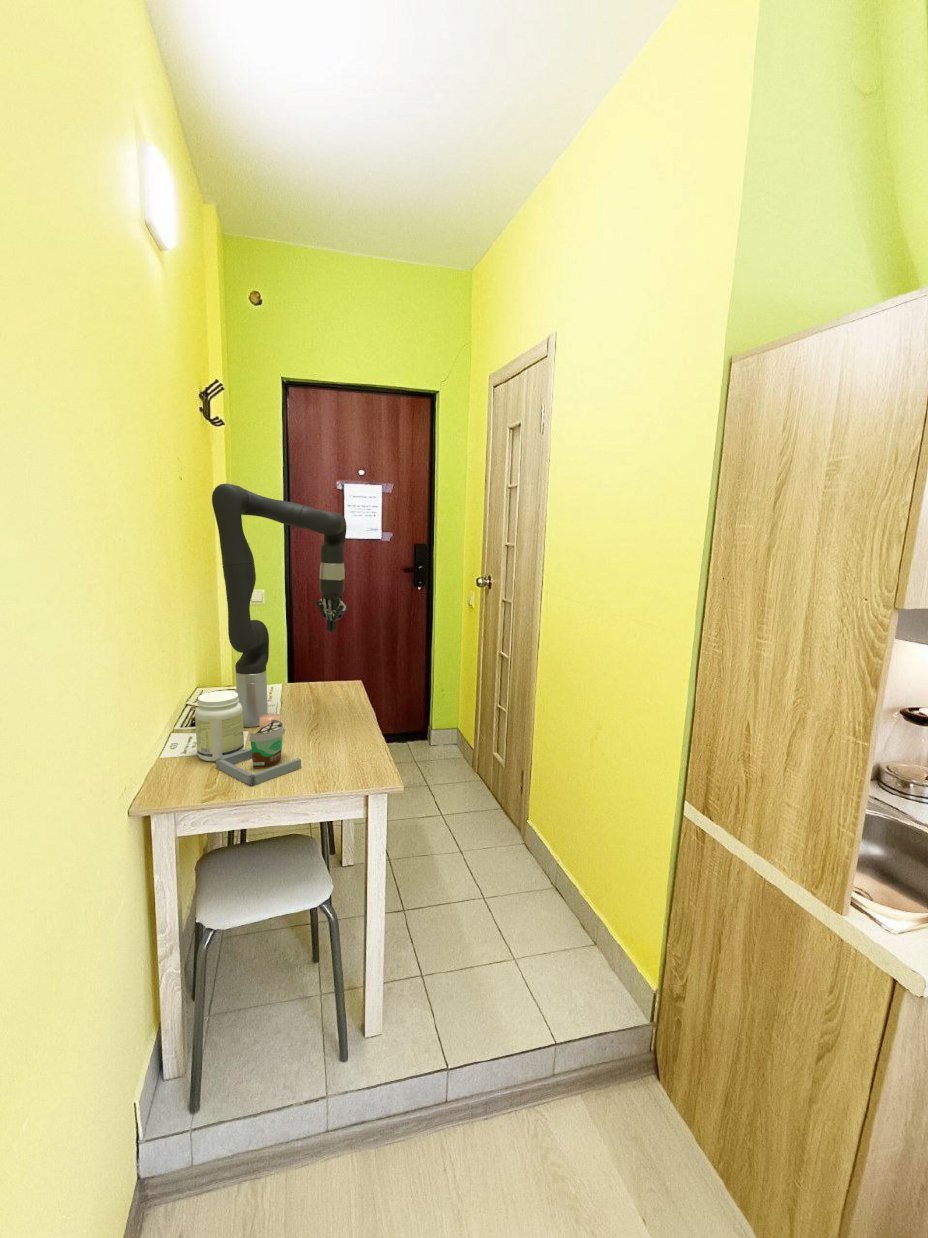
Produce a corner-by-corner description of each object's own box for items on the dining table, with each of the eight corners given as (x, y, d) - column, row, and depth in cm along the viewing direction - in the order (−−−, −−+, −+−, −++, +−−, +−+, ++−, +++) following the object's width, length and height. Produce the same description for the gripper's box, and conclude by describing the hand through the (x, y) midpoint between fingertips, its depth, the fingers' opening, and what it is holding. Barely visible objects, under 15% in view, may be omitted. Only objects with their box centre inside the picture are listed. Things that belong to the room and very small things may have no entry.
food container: (271, 772, 153) (270, 736, 151) (250, 770, 154) (248, 733, 152) (293, 754, 165) (292, 720, 163) (273, 752, 166) (272, 718, 164)
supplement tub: (244, 744, 171) (242, 688, 168) (243, 760, 160) (241, 700, 157) (199, 748, 167) (196, 691, 164) (194, 765, 156) (191, 704, 153)
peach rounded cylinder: (256, 743, 172) (255, 717, 171) (273, 737, 177) (273, 712, 175) (268, 748, 168) (267, 721, 167) (285, 742, 173) (285, 716, 172)
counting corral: (216, 768, 154) (216, 759, 154) (265, 751, 166) (265, 743, 165) (251, 786, 144) (251, 777, 144) (301, 767, 156) (300, 759, 155)
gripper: (308, 575, 182) (308, 630, 185) (336, 580, 174) (336, 637, 177) (327, 574, 188) (327, 627, 191) (355, 578, 180) (354, 633, 183)
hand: (331, 632), depth 184 cm, fingers closed
